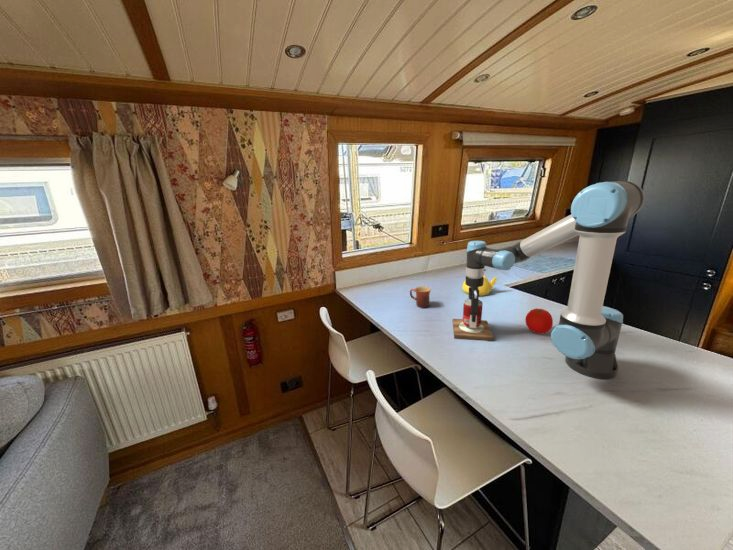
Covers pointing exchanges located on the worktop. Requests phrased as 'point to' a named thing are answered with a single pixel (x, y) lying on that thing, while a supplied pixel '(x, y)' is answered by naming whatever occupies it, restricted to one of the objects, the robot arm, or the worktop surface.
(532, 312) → the tomato
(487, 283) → the teapot
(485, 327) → the board
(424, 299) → the mug
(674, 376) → the worktop surface
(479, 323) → the canned food
